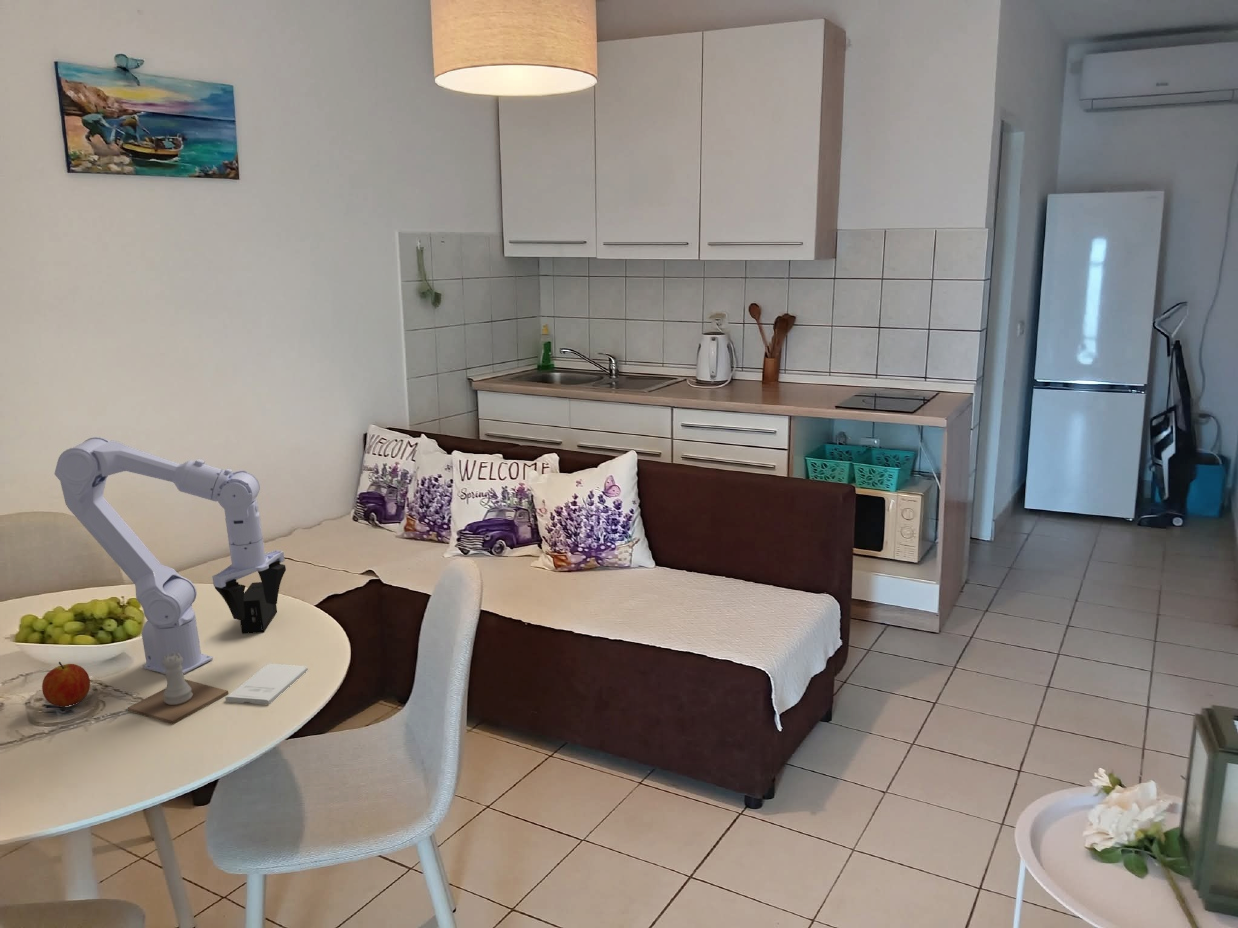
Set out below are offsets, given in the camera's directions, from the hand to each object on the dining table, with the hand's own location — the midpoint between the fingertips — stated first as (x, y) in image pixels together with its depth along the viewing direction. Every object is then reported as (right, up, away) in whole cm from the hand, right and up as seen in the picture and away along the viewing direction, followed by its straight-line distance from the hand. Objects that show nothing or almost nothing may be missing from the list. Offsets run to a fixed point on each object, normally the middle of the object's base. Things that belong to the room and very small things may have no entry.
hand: (255, 610), depth 172 cm
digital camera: (-7, -6, +19) cm, 21 cm away
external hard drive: (+5, -12, -8) cm, 16 cm away
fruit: (-27, -14, -12) cm, 33 cm away
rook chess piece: (-8, -13, -13) cm, 20 cm away
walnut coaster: (-8, -13, -13) cm, 20 cm away
